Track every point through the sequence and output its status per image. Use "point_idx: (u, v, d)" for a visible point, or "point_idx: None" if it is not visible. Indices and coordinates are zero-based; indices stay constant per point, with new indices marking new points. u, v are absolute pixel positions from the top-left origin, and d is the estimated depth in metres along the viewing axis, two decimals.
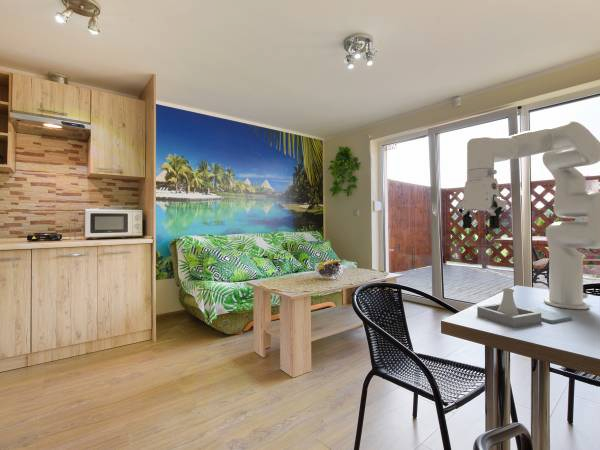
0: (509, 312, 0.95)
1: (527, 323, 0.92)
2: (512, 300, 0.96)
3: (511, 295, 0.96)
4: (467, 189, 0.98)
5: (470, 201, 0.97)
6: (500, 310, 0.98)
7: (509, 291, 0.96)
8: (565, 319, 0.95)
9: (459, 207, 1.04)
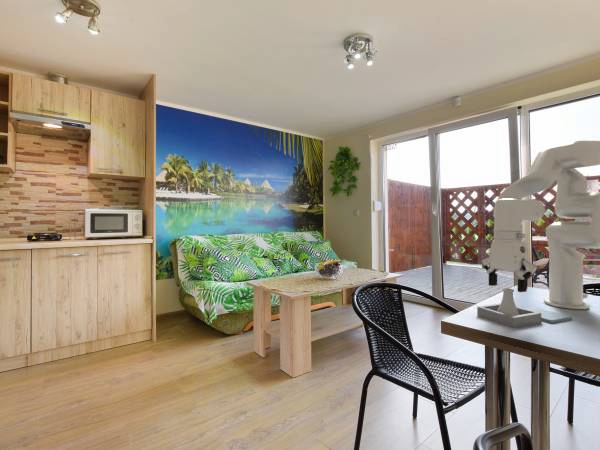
0: (509, 312, 0.95)
1: (527, 323, 0.92)
2: (512, 300, 0.96)
3: (511, 295, 0.96)
4: (494, 248, 0.99)
5: (497, 261, 0.98)
6: (500, 310, 0.98)
7: (509, 291, 0.96)
8: (565, 319, 0.95)
9: (484, 263, 1.04)
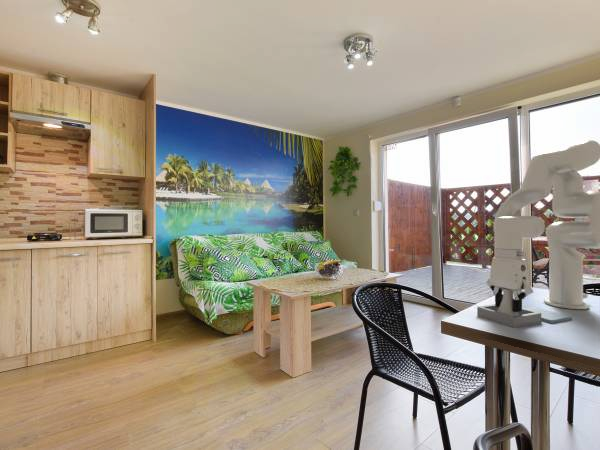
0: (509, 312, 0.95)
1: (527, 323, 0.92)
2: (512, 300, 0.96)
3: (511, 295, 0.96)
4: (495, 266, 0.99)
5: (498, 278, 0.98)
6: (500, 310, 0.98)
7: (509, 291, 0.96)
8: (565, 319, 0.95)
9: (489, 284, 1.03)
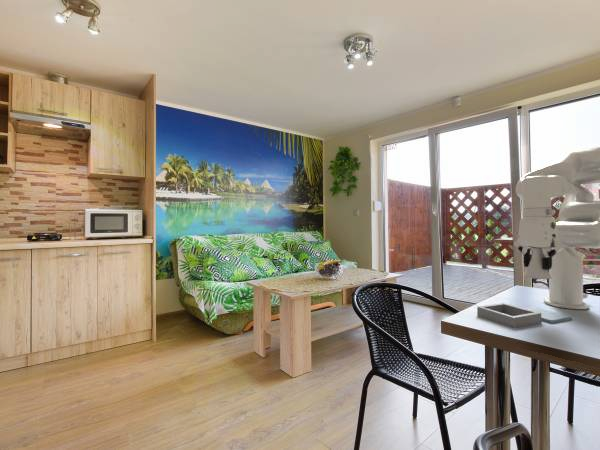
0: (539, 270, 0.97)
1: (527, 323, 0.92)
2: (541, 258, 0.97)
3: (540, 253, 0.98)
4: (523, 226, 1.00)
5: (527, 238, 0.99)
6: (529, 269, 0.99)
7: (538, 249, 0.97)
8: (565, 319, 0.95)
9: (517, 245, 1.04)
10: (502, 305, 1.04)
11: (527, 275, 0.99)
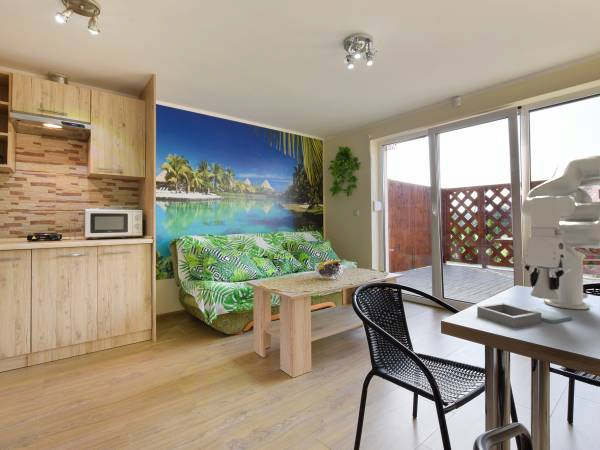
0: (546, 290, 0.97)
1: (527, 323, 0.92)
2: (549, 278, 0.97)
3: (548, 273, 0.98)
4: (530, 245, 1.01)
5: (534, 257, 1.00)
6: (536, 288, 0.99)
7: (546, 269, 0.98)
8: (565, 319, 0.95)
9: (524, 264, 1.04)
10: (502, 305, 1.04)
11: (534, 294, 0.99)
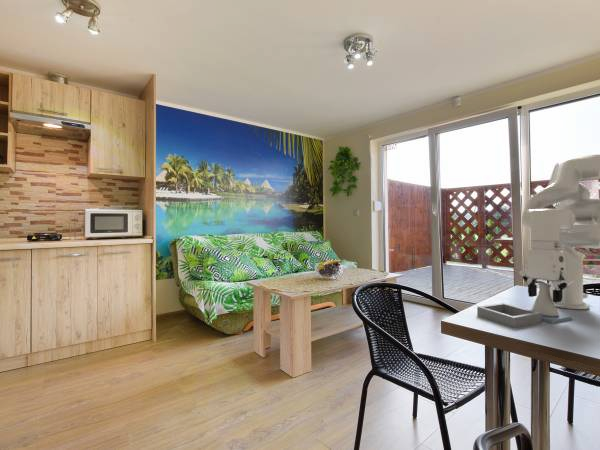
0: (547, 307, 0.97)
1: (527, 323, 0.92)
2: (549, 295, 0.98)
3: (548, 290, 0.98)
4: (531, 257, 1.01)
5: (534, 270, 1.00)
6: (537, 305, 0.99)
7: (546, 286, 0.98)
8: (565, 319, 0.95)
9: (522, 274, 1.05)
10: (502, 305, 1.04)
11: None
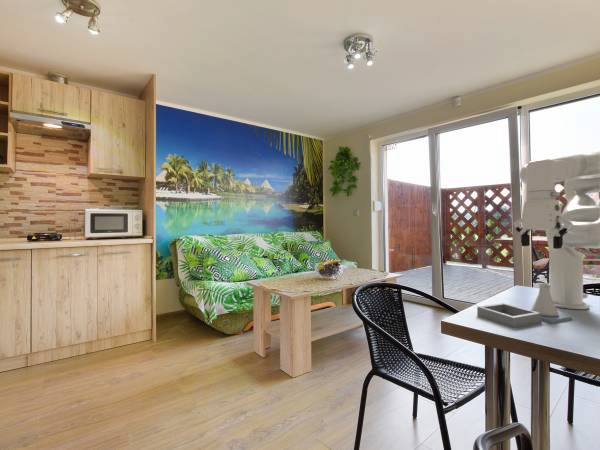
0: (547, 307, 0.97)
1: (527, 323, 0.92)
2: (549, 295, 0.98)
3: (548, 290, 0.98)
4: (527, 209, 1.02)
5: (531, 221, 1.01)
6: (537, 305, 0.99)
7: (546, 286, 0.98)
8: (565, 319, 0.95)
9: (516, 225, 1.07)
10: (502, 305, 1.04)
11: None
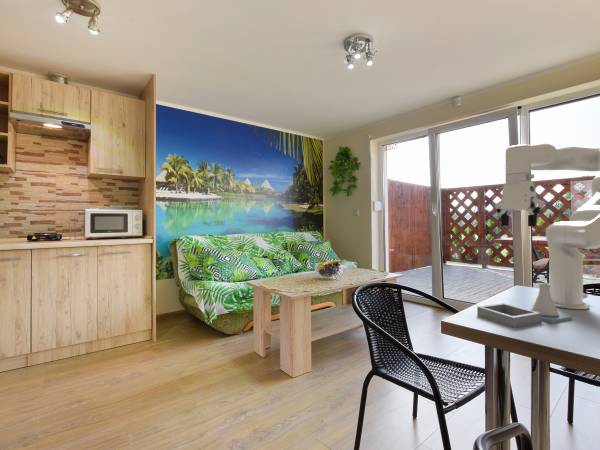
0: (547, 307, 0.97)
1: (527, 323, 0.92)
2: (549, 295, 0.98)
3: (548, 290, 0.98)
4: (506, 191, 1.10)
5: (509, 202, 1.09)
6: (537, 305, 0.99)
7: (546, 286, 0.98)
8: (565, 319, 0.95)
9: (497, 207, 1.16)
10: (502, 305, 1.04)
11: None
